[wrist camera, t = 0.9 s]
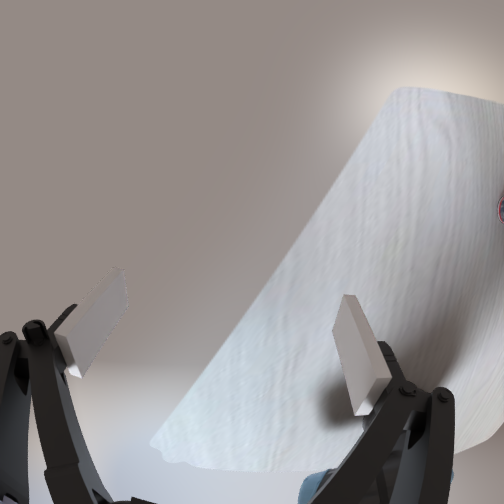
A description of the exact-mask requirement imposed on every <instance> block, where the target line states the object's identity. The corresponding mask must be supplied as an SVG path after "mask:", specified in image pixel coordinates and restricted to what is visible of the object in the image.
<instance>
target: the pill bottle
mask: <svg viewBox="0 0 504 504" xmlns="http://www.w3.org/2000/svg"><path fill="white" fill-rule="evenodd" d="M497 212H498V217H499V219H500V221H501V222H502V223H503V224H504V197H502V198H501V199H500V201H499V203H498V209H497Z"/></svg>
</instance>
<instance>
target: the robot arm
mask: <svg viewBox="0 0 504 504" xmlns="http://www.w3.org/2000/svg"><path fill="white" fill-rule="evenodd" d="M128 307H129V305H128V298H127V290H126V282H125V274H124V269H122V268H115V267H113V268H112V269H111V270H110V271H109V272H108V273H107V274H106V275H105V276H104V277H103V278H102V280H100V282H99V283H98V284H97V285H96V286H95V287H94V288H93V289H92V290H91V291H90V292H89V293H88V294H87V296H86V297H85V298H84V299H83V300H82V301H81V302H80V303H79V304H78V305H77V304H73V305H71V306H70V307H68V308H67V309H66V310H65V311H64V312H63V313H62V315H60V316H59V317H58V319H57V320H56V321H55V322H54V323H53V324H52V325H51V326H50V328H49V329H48V330H47V329H46V326H45V324H44V322H43V321H41V320H32V321H29V322H28V323H26V324H25V325H24V326H23V328H22V332H23V334H24V337H25V339H26V340H18V337H17V335H16V333H14V332H11V331H9V332H5V333H3V334H2V335H0V504H29V485H28V428H29V414H30V404H31V395H32V400H33V407H34V413H35V419H36V424H37V429H38V434H39V438H40V442H41V447H42V451H43V454H44V458H45V462H46V465H47V469H46V470H45V471H44V476H45V480H46V483H47V486H48V489H49V492H50V495H51V497H52V500H53V503H54V504H156V503H152V502H148V501H145V500H141V499H137V498H135V497H132V498H131V501H117V502H114V501H113V500H112V498H111V496H110V495H109V493H108V492H107V490H106V489H105V488H104V486H103V484H102V482H101V479H100V477H99V475H98V473H97V470H96V469H95V466H94V463H93V461H92V459H91V456H90V454H89V451H88V449H87V446H86V443H85V440H84V438H83V435H82V432H81V429H80V426H79V423H78V420H77V417H76V413H75V410H74V406H73V403H72V399H71V396H70V392H69V388H68V384H67V380H66V375H65V373H64V370H65V368H66V367H68V370H69V372H70V374H71V375H74V376H77V377H80V378H83V376H84V375H85V373H86V371H87V370H88V368H89V367H90V365H91V363H92V362H93V360H94V359H95V357H96V355H97V353H98V352H99V351H100V349H101V347H102V346H103V344H104V343H105V341H106V340H107V338H108V336H109V335H110V333H111V332H112V330H113V329H114V327H115V326H116V324H117V323H118V321H119V320H120V319H121V317H122V316H123V314H124V313H125V311H126V310H127V308H128ZM332 332H333V336H334V339H335V343H336V346H337V350H338V354H339V357H340V361H341V365H342V368H343V372H344V376H345V380H346V384H347V388H348V392H349V396H350V400H351V404H352V408H353V412H354V416H358V415H365V416H364V419H363V429H364V432H363V434H362V435H361V436H360V438H359V439H358V441H357V442H356V444H355V445H354V446H353V448H352V449H351V451H350V452H349V453H348V455H347V456H346V457H345V459H344V460H343V461H342V463H341V464H340V465H339V466H338V468H335V469H327V470H326V471H323V472H319V473H315V474H311V475H309V476H308V477H307V478H306V479H305V480H304V481H303V483H302V485H301V488H300V492H299V497H298V504H447V503H448V497H449V491H450V484H451V482H452V480H453V476H454V472H453V469H452V466H453V455H454V436H455V399H454V395H453V394H452V392H451V391H450V390H448V389H447V388H444V387H437V388H435V389H434V390H433V392H432V393H426V392H424V391H423V390H421V389H417V387H416V386H415V385H414V384H413V383H411V382H409V381H406V380H405V377H404V375H403V373H402V371H401V368H400V366H399V364H398V362H397V360H396V358H395V356H394V353H393V351H392V349H391V347H390V346H389V345H388V344H387V343H386V342H385V341H376V338H375V336H374V334H373V332H372V330H371V327H370V325H369V323H368V321H367V319H366V317H365V314H364V312H363V310H362V308H361V306H360V304H359V302H358V300H357V298H356V296H355V295H345V294H344V295H343V298H342V301H341V305H340V308H339V311H338V314H337V318H336V321H335V324H334V327H333V330H332Z"/></svg>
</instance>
